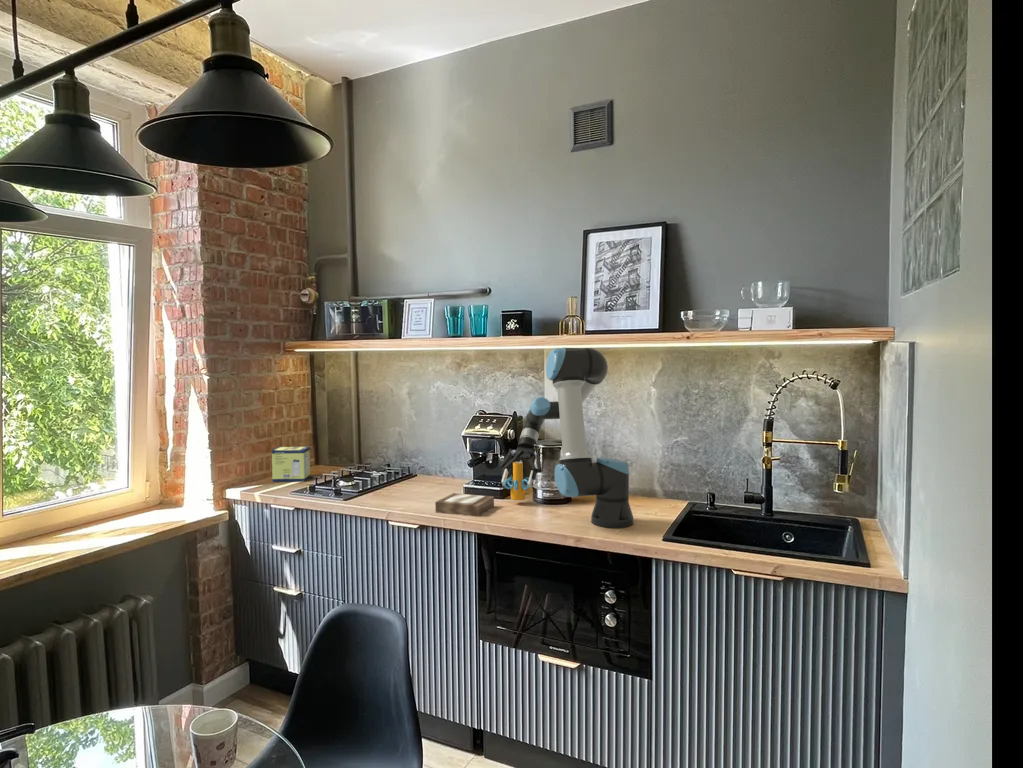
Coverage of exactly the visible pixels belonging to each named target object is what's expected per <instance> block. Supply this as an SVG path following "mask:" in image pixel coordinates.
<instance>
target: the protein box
mask: <svg viewBox="0 0 1023 768" xmlns="http://www.w3.org/2000/svg"><path fill="white" fill-rule="evenodd" d="M271 469H272V470H271V471H272V477H271V478H272V483H299V482H301V483H303V482H306V481H307V480H309V479H310V478H311V454H310V446H277V447H275V448H274V449H272V450H271Z"/></svg>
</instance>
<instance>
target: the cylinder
mask: <svg viewBox="0 0 1023 768" xmlns="http://www.w3.org/2000/svg"><path fill="white" fill-rule="evenodd" d="M523 469H524V462H523V461H518V462H513V466H512V476H509V477H507V479H506V480H505V482H504V486H503V487H504V488H505V489H507V490H510V499H511V500H512V501H524V500H525V499H526V491H527V490H528V489H529V486H528V481H529V477H530V476H529V477H528V476H526V477H524V472H523V471H524V470H523ZM510 482H511V483H510ZM525 483H526V484H527V485H526V484H525ZM507 485H508V486H507Z"/></svg>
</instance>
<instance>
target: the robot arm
mask: <svg viewBox="0 0 1023 768" xmlns="http://www.w3.org/2000/svg"><path fill="white" fill-rule="evenodd" d="M608 367H609V366H608V362H607V359H606V357H605V356H604V355H603V353H602V352H600V351H598V350H597V349H595V348H592V347H561V348H559V347H557V348H553V349H552V350H551V351H550V352H549V354H548V356H547V359H546V365H545V375H546V377H547V379H548V380H549V381H552V386H553V387H554V388H555V389H556V390H557V401H550V400H549V399H548V398H546V397H543V396H538V397H536V398H535V399H534V400H533V402H532V403H531V405H530V408H529V410H528V411H527V412H526V416H525V418H524V423H523V427H522V431H521V432H520V433H521V434H520V436H519V440H518V444H517V448H516V449H512V448H509V449H508V452H507V453H506V456H505V457H503V458H504V459H503V460H502V461H501V463H500V464H499V469H500V471H501V475H500V476H501V477H502V478H501V484H502V486H503V487H504V482H505V480H506V479H508V475H509V470H510V469H511V468H513V462H520V461H528V462H529V463H530V467H531V468H532V470H530V474H529V479H528V480H527V481H528V486H529V488H532V486H533V481H535V480H536V478H537V474H538V473H540V474H542V473H543V467H542V462H541V461H540V460H541V457H539V455H538V453H536V449H535V450H534V444H535V443H536V442H537V443H538V439H539V436H540V432H541V428H542V426H543V423H544V422H545V420H559V424H560V437H561V449H562V456H561V457H560V458H559V460H558V463H559V464H556V465H555V467H554V473H553V475H554V480H555V481H554V482H555V484H556V488H557V490H558V491H559V493H560V494H561V496H563V497H566V498H578V497H579V498H580V497H589V496H590V497H592V496H596V497H595V503H594V506H593V509H592V513H591V516H590V517H591V518H590V520H591V523H592V524H594V525H596V526H598V527H601V528H602V527H603V528H611V529H617V528H621V529H622V528H628V527H630V526H631V527H632V526H633V525H634V515H633V512H632V507H631V505H630V501H629V497H630V495H629V493H630V487H629V486H630V467H629V464H628V463H627V461H624V460H621V459H617V458H611V457H597V458H596V460H595V462H593V461H592V460H593V459H592V456H591V455H589V454H588V452H587V450H588V449H587V442H586V441H587V440H586V430H585V421H584V420H585V419H584V409H583V408H584V407H583V403H584V402H585V401H586V399H587V398H588V397H589V396H590V394H591V392H592V391H593V390H594V388H595V387H596V386H597V385H599V384H601V383H602V382H603V381H604V380H605V378H606V377H607V374H608V370H609V369H608ZM537 443H536V444H537ZM534 456H535V457H536V464H537V465H535V463H534V460H533V459H532V458H533V457H534ZM536 466H537V467H536ZM529 488H528V489H529ZM632 524H633V525H632Z"/></svg>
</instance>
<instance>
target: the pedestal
mask: <svg viewBox="0 0 1023 768" xmlns="http://www.w3.org/2000/svg"><path fill="white" fill-rule="evenodd" d="M494 507H495V496H493V495H492V496H490V495H481V494H480V495H477V494H468V493H467V494H466V493H456V492H453V493H451V494H449V495H447V496H445V497H443V498H440V499H439V500H436V501H435V513H438V514H439V513H440V514H448V515H450V514H451V515H458V514H464V515H463V516H468V515H474V516H473V517H480V516H482V515H483V514H485V513H486V512H487V511H489V510H491V509H492V508H494ZM484 512H485V513H484ZM479 515H480V516H479Z"/></svg>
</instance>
